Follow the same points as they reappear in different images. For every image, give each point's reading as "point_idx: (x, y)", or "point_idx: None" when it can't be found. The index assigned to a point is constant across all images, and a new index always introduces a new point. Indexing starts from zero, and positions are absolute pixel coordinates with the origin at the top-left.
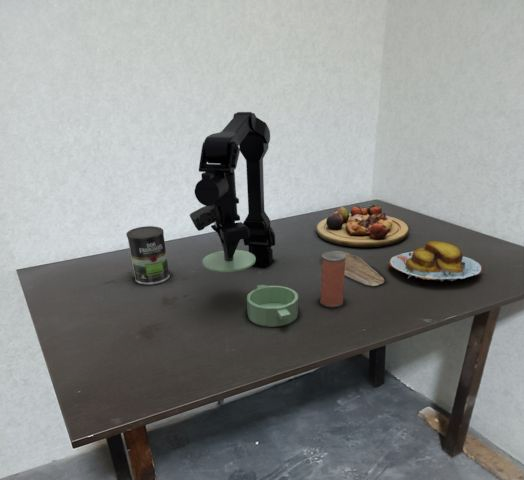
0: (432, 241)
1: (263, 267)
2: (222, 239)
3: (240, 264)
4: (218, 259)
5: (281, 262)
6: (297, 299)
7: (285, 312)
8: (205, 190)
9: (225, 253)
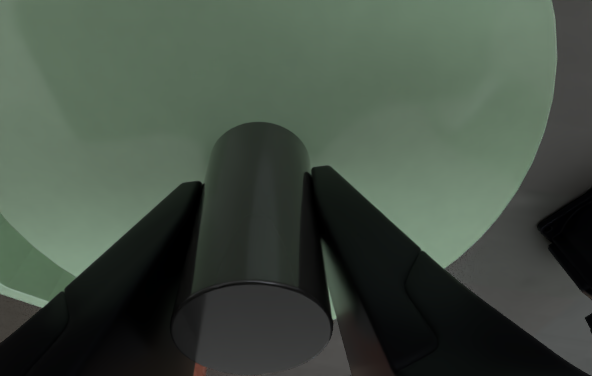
0: None
1: (542, 222)
2: (363, 313)
3: (113, 236)
4: (300, 57)
5: (542, 277)
6: (40, 305)
7: None
8: None
9: (214, 187)
